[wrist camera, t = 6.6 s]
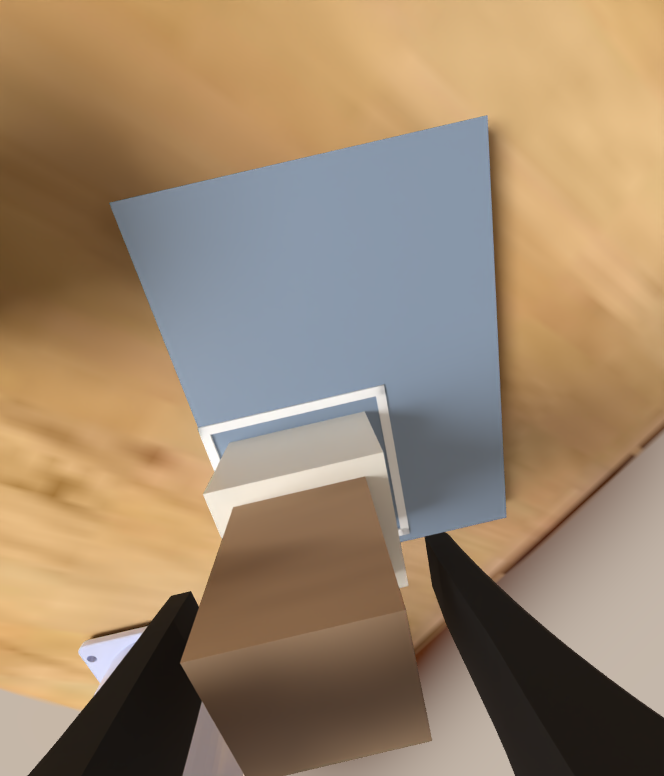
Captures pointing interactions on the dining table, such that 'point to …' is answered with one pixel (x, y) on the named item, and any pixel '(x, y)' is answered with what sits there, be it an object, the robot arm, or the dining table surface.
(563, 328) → the dining table surface
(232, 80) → the dining table surface
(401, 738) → the walnut block
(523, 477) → the dining table surface
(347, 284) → the board
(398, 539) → the cream base block
